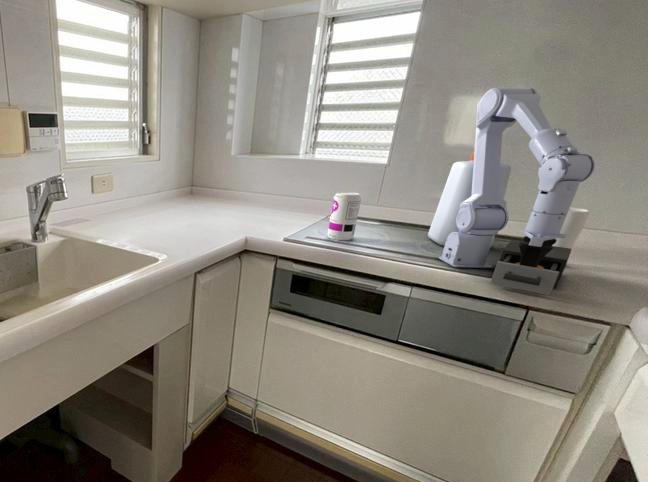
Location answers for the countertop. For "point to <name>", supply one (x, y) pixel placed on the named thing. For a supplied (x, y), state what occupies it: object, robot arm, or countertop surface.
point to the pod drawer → (526, 275)
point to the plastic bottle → (459, 198)
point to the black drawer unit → (554, 255)
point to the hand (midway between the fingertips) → (527, 270)
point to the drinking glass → (572, 227)
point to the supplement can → (344, 215)
